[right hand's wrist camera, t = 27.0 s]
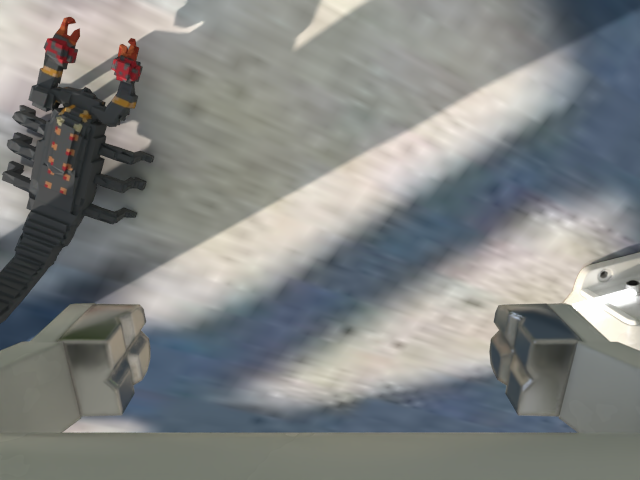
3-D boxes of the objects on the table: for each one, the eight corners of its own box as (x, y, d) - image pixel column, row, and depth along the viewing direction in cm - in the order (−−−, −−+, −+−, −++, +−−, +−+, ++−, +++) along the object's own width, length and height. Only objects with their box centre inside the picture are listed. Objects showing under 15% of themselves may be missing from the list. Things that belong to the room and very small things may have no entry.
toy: (-3, 241, 49) (-175, 332, 32) (44, -7, 41) (-157, -62, 23) (114, 285, 51) (11, 392, 34) (184, 57, 42) (92, 48, 25)
